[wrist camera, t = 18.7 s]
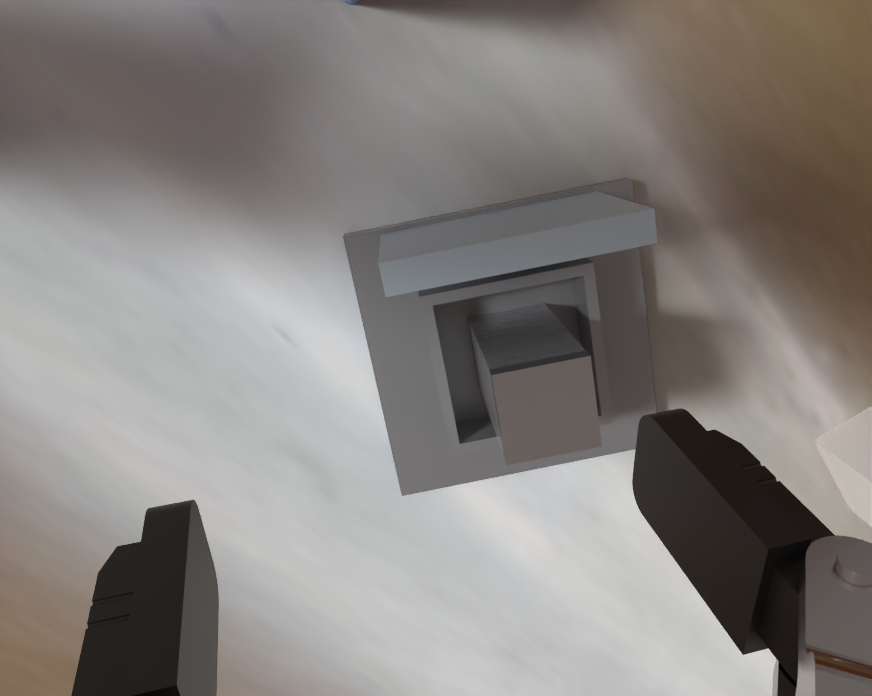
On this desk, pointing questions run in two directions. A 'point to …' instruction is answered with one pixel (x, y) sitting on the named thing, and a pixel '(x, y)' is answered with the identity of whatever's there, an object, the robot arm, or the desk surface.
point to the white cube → (851, 461)
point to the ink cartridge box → (350, 1)
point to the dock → (494, 292)
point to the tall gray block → (535, 384)
